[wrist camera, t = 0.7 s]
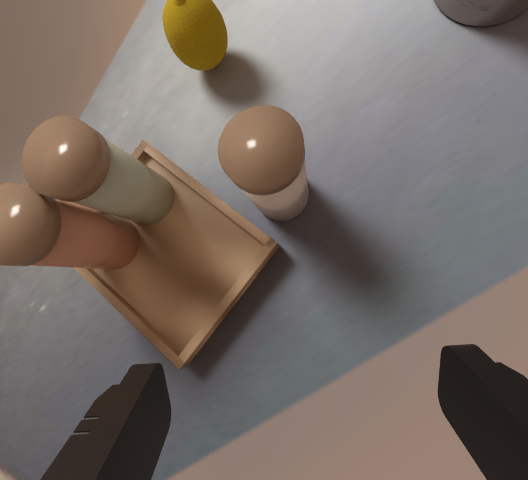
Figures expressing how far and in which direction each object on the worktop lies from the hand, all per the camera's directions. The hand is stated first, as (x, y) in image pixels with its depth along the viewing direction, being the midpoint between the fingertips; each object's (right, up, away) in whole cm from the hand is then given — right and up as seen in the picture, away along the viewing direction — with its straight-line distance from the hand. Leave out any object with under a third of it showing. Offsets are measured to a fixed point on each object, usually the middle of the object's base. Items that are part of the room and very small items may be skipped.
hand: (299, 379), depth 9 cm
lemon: (-7, +23, +24) cm, 34 cm away
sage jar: (-12, +8, +22) cm, 26 cm away
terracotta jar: (-16, +4, +22) cm, 27 cm away
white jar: (+1, +8, +21) cm, 23 cm away
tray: (-10, +3, +22) cm, 25 cm away
